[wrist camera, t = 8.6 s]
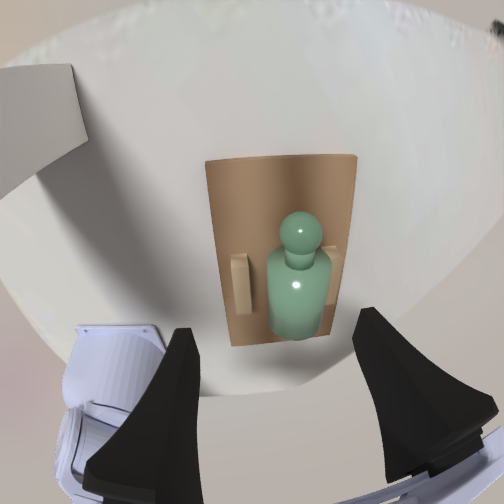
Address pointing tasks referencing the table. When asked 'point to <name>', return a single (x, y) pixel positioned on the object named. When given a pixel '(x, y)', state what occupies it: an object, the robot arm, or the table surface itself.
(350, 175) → the rest board
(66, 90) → the milk
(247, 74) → the table surface
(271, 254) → the bottle
